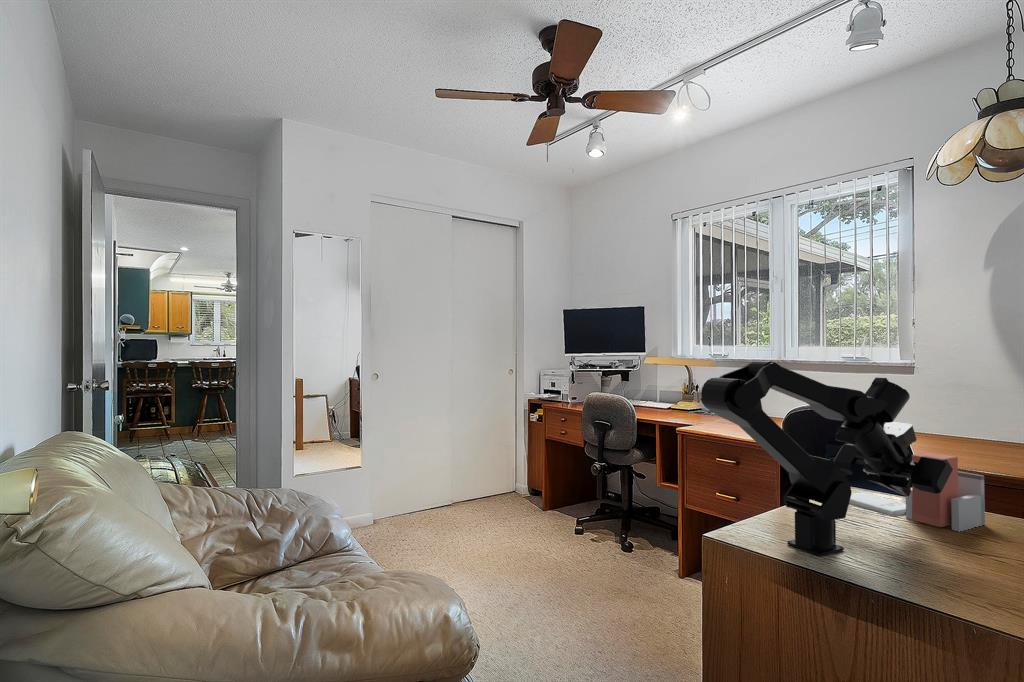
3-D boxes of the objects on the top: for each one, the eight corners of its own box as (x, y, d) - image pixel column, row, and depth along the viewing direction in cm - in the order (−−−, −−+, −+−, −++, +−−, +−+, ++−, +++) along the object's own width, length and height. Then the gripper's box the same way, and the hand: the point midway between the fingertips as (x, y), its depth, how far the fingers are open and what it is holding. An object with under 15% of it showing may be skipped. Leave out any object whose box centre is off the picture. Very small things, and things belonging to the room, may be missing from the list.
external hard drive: (864, 498, 128) (919, 513, 116) (838, 502, 125) (892, 518, 113) (863, 491, 128) (919, 506, 116) (838, 495, 125) (892, 510, 113)
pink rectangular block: (939, 527, 104) (938, 459, 104) (911, 520, 109) (909, 455, 109) (958, 522, 107) (957, 456, 107) (930, 515, 111) (929, 452, 112)
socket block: (959, 532, 103) (958, 480, 103) (906, 518, 112) (905, 470, 112) (985, 525, 107) (984, 475, 107) (931, 512, 115) (931, 466, 115)
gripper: (946, 414, 94) (981, 471, 98) (841, 404, 111) (876, 453, 115) (919, 463, 90) (957, 521, 95) (816, 445, 107) (852, 494, 112)
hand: (907, 494), depth 104 cm, fingers closed
